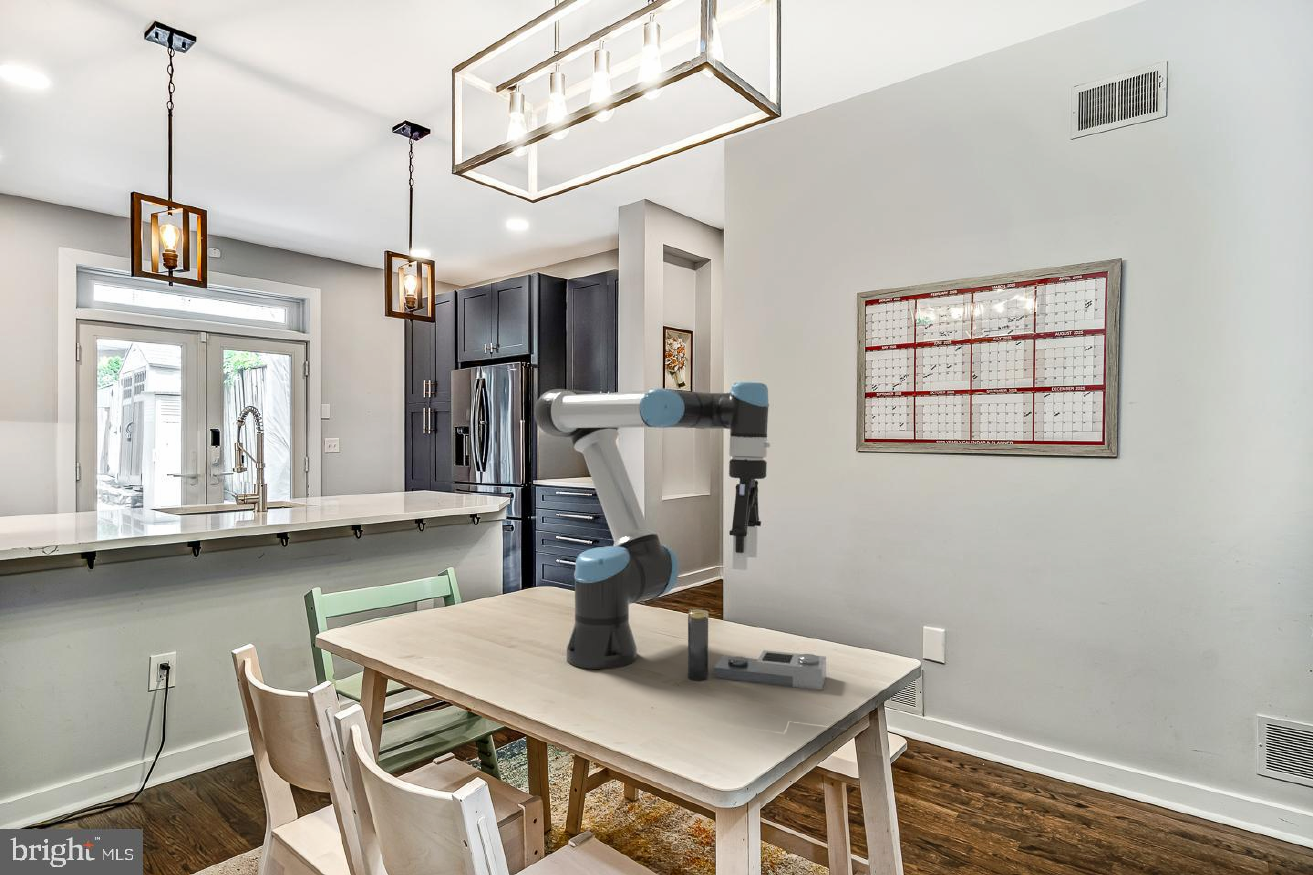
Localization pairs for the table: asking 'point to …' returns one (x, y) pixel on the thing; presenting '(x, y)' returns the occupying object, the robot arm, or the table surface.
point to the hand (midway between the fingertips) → (745, 562)
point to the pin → (698, 645)
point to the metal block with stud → (775, 669)
